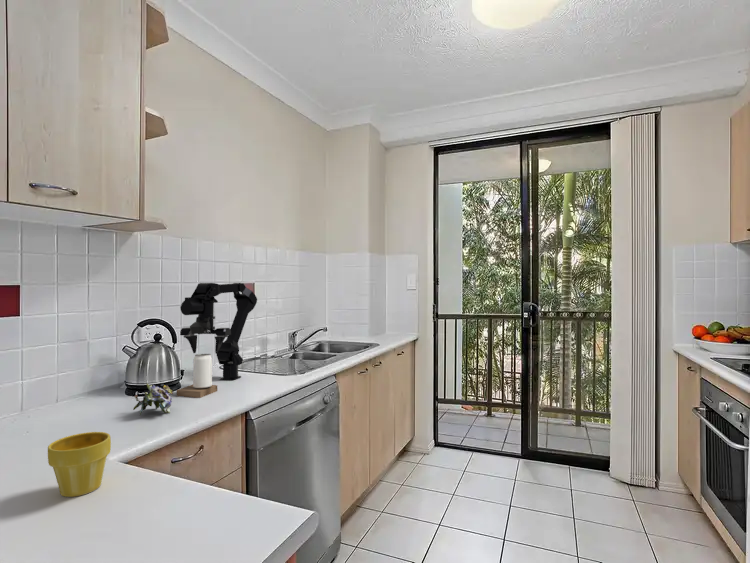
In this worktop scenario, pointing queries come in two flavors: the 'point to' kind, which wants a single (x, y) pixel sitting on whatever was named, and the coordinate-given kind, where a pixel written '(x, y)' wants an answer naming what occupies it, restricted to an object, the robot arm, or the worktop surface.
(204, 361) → the can
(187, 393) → the walnut block
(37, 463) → the worktop surface
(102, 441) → the plant pot
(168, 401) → the passion flower
